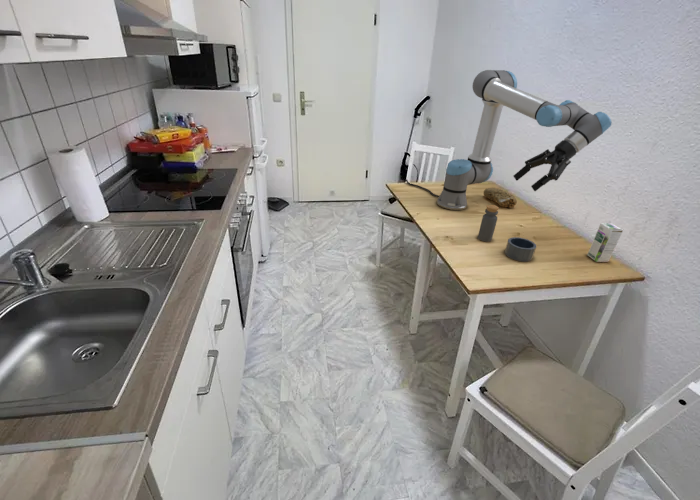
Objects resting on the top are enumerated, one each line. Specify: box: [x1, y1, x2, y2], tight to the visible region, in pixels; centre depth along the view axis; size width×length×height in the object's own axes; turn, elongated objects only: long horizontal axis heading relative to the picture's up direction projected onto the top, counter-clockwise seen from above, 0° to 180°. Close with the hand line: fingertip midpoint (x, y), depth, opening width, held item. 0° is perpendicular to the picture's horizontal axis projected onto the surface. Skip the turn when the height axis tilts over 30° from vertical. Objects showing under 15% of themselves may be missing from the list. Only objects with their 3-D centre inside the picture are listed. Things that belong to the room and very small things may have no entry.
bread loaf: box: [483, 187, 518, 209], centre depth 198 cm, size 13×8×20 cm
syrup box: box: [586, 222, 624, 263], centre depth 142 cm, size 6×6×14 cm
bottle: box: [477, 204, 500, 243], centre depth 153 cm, size 6×6×15 cm
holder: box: [504, 236, 537, 263], centre depth 144 cm, size 10×10×6 cm
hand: (523, 183), depth 146 cm, fingers open, 13 cm apart
